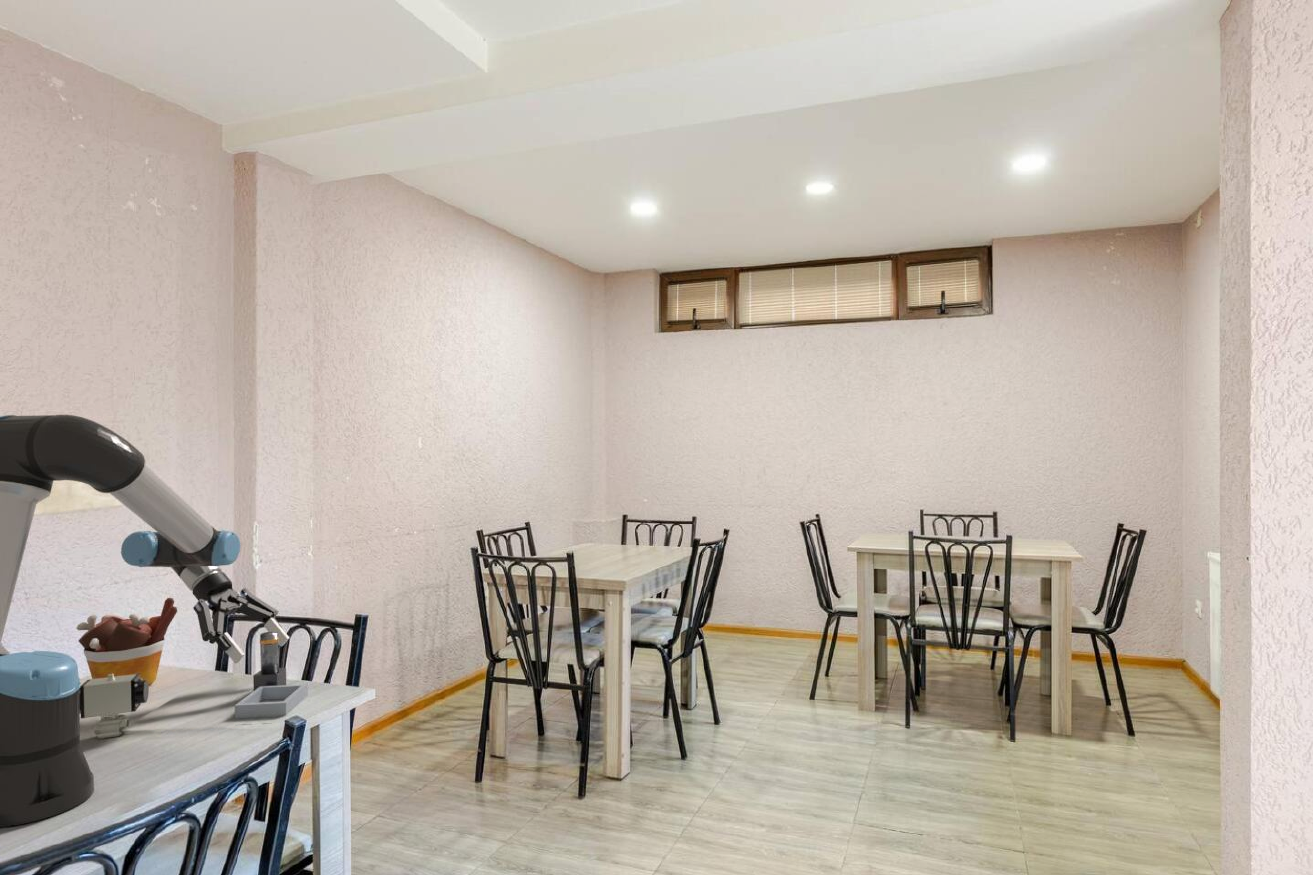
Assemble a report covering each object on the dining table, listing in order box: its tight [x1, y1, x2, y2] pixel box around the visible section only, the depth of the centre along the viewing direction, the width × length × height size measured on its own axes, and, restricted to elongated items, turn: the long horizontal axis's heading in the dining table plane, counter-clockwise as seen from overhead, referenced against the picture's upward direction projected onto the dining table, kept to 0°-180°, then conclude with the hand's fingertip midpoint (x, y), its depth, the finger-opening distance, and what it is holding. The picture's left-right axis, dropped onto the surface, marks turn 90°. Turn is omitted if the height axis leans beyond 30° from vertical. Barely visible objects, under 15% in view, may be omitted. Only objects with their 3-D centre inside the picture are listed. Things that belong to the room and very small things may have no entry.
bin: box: [234, 683, 309, 726], centre depth 161 cm, size 12×10×4 cm
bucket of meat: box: [76, 597, 178, 686], centre depth 181 cm, size 20×16×20 cm
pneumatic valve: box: [80, 674, 150, 740], centre depth 151 cm, size 6×12×12 cm, turn 112°
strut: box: [252, 631, 287, 691], centre depth 170 cm, size 5×5×13 cm
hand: (263, 650), depth 172 cm, fingers open, 13 cm apart
